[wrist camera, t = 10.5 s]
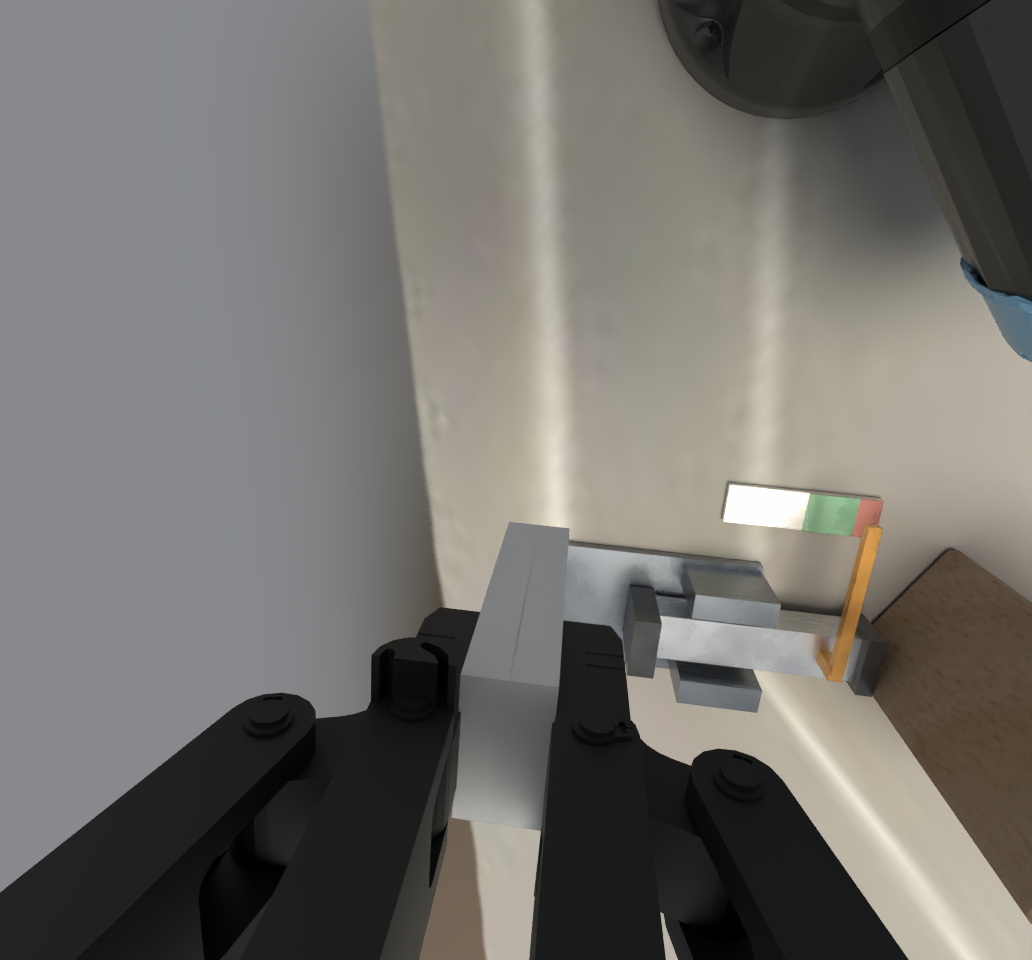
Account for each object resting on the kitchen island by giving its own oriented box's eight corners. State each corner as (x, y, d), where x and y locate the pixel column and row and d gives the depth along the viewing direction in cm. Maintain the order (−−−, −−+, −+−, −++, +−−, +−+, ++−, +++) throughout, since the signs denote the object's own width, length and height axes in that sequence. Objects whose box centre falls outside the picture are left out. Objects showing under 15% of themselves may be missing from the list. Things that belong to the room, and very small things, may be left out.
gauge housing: (566, 465, 43) (563, 489, 38) (880, 497, 41) (920, 527, 36) (547, 647, 47) (542, 690, 42) (832, 682, 45) (862, 731, 40)
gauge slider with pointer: (645, 478, 41) (653, 504, 36) (890, 503, 40) (932, 534, 35) (622, 635, 45) (627, 679, 40) (847, 662, 44) (881, 710, 39)
